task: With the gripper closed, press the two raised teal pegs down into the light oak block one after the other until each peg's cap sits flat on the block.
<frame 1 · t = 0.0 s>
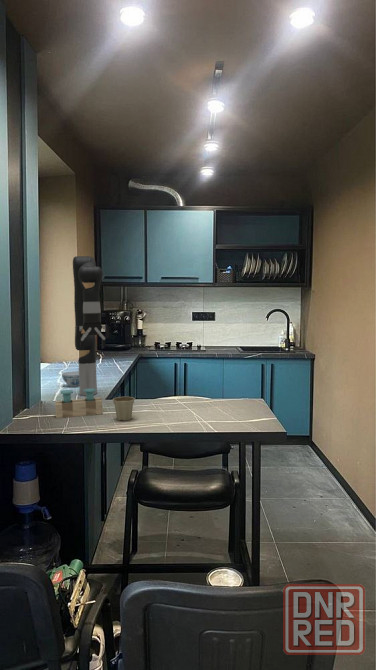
hand: (93, 348, 200), 29 cm above the worktop, tool pointing down, fingers open, 8 cm apart
chinaware: (75, 386, 270), on the worktop
oak block: (79, 414, 201), on the worktop
teal peg 1: (90, 396, 202), point 8 cm above the worktop, slide at 4.0 cm
teal peg 2: (67, 398, 199), point 8 cm above the worktop, slide at 4.0 cm
flower pot: (124, 419, 191), on the worktop
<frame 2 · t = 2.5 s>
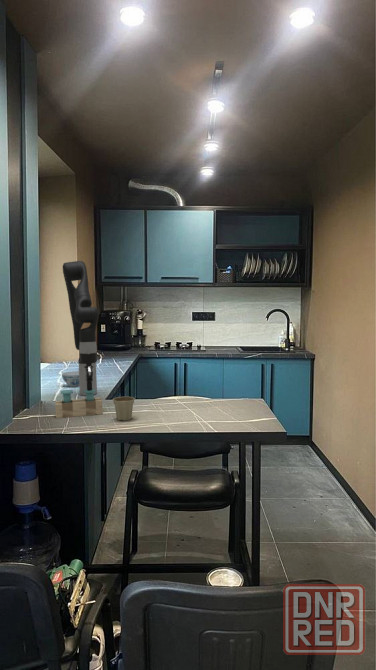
hand: (89, 390, 202), 10 cm above the worktop, tool pointing down, fingers closed
teal peg 1: (90, 397, 202), point 7 cm above the worktop, slide at 3.7 cm, touching gripper
everything else where it was.
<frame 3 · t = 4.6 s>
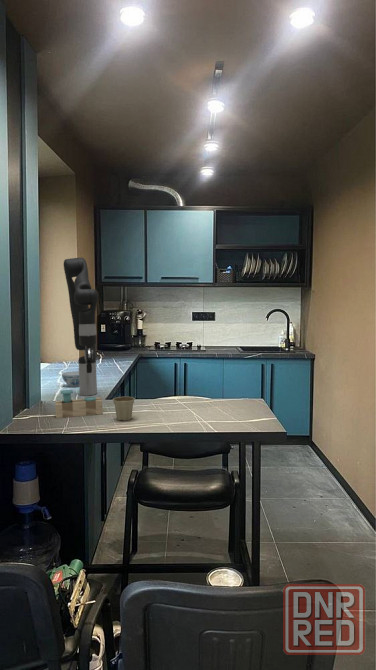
hand: (89, 372, 201), 18 cm above the worktop, tool pointing down, fingers closed
teal peg 1: (90, 405, 202), point 3 cm above the worktop, slide at 0.0 cm, touching oak block
everything else where it was.
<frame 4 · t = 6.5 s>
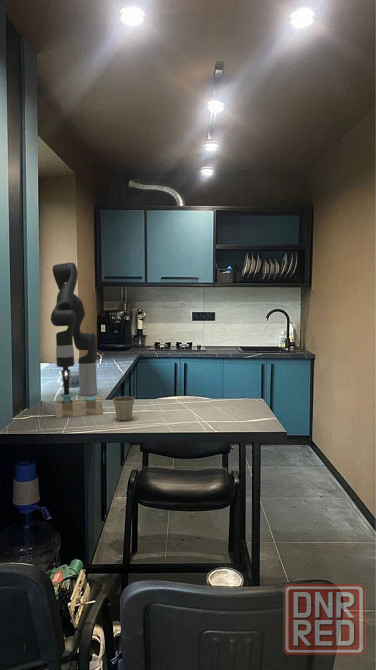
hand: (66, 394, 199), 9 cm above the worktop, tool pointing down, fingers closed
teal peg 2: (67, 401, 199), point 6 cm above the worktop, slide at 2.6 cm, touching gripper
everything else where it was.
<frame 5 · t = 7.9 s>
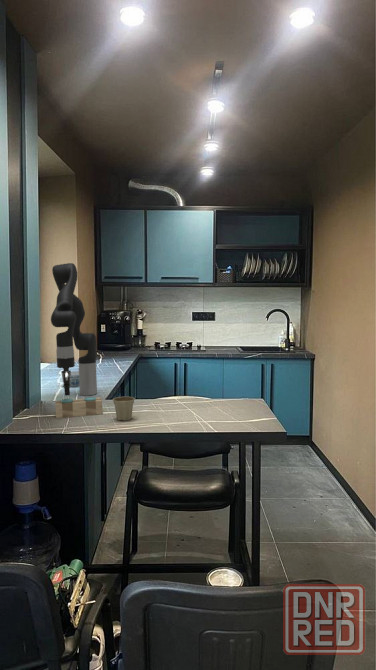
hand: (67, 395, 199), 9 cm above the worktop, tool pointing down, fingers closed
teal peg 2: (67, 407, 200), point 3 cm above the worktop, slide at 0.0 cm, touching oak block
everything else where it was.
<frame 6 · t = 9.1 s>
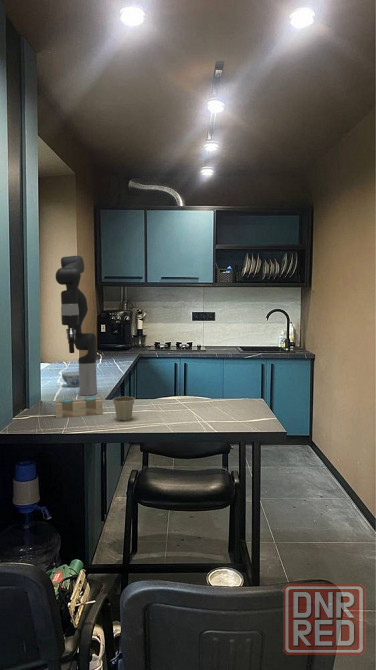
hand: (71, 352, 200), 27 cm above the worktop, tool pointing down, fingers closed
nothing on the worktop moved.
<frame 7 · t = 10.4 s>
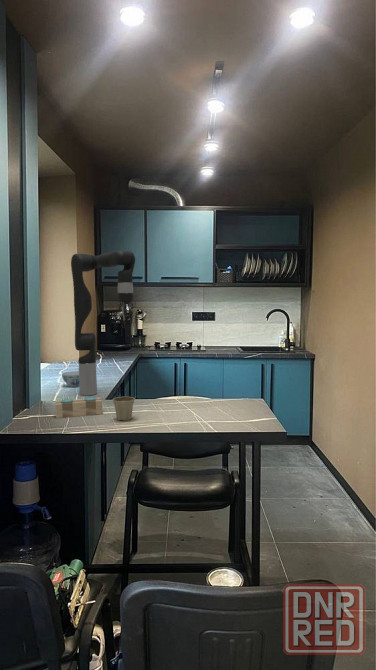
hand: (126, 327, 220), 37 cm above the worktop, tool pointing down, fingers closed
nothing on the worktop moved.
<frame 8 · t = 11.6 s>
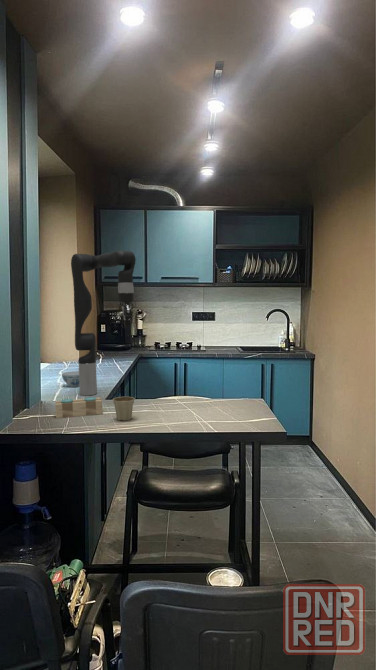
hand: (127, 327, 220), 37 cm above the worktop, tool pointing down, fingers closed
nothing on the worktop moved.
at the end: teal peg 1 slide at 0.0 cm; teal peg 2 slide at 0.0 cm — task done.
